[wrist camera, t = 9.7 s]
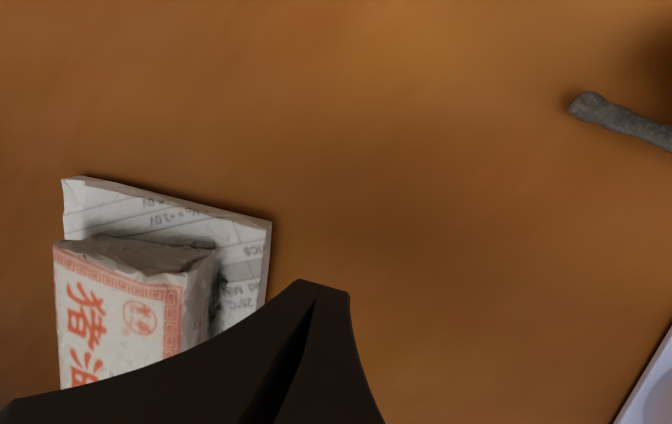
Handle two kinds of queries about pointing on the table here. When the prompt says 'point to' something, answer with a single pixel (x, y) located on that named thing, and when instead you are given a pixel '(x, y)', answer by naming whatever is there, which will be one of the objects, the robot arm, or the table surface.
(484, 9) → the table surface
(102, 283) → the packaged product
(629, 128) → the dog figurine
